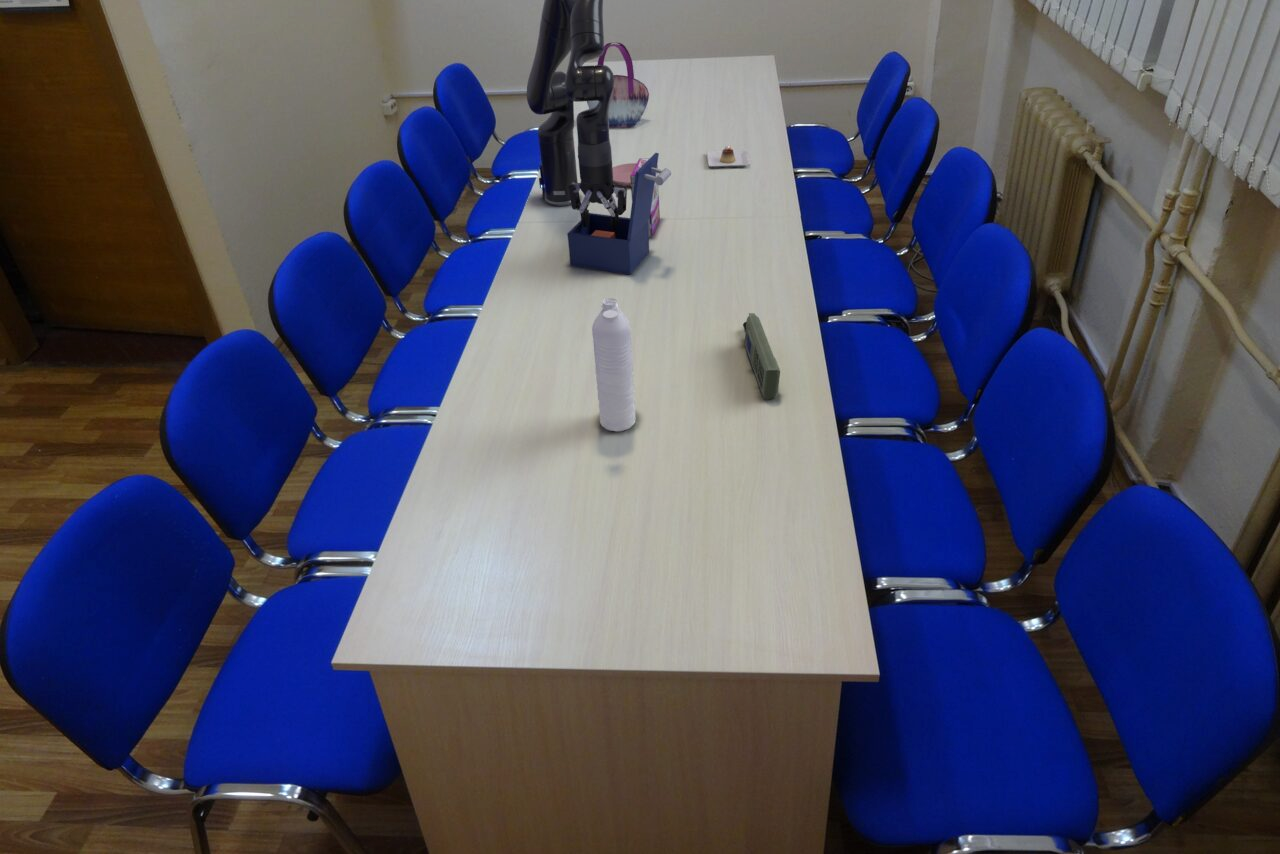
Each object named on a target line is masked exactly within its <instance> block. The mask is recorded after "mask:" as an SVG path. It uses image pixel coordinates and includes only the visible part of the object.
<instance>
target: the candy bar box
mask: <svg viewBox="0 0 1280 854" xmlns="http://www.w3.org/2000/svg"><path fill="white" fill-rule="evenodd" d="M650 158H651V157H649V158H647V157H646V158H645V157H640V158H638V160H637V162H636V163H637V164H636V166H635V168H634V170H633V172H632V174H631V175H630V178H631V186H630V192H631V200H632V199H633V191H634V183H635V175H636V172H637V171H638V170H639V169H640V168H641V167H642V166H643V165H644V164H645V163H646V162H647V161H648V160H649V159H650ZM658 167H659V166H657V169H659V168H658ZM658 175H659V173H656V177H657V176H658ZM659 190H660V189H659V185H657V184H656V183H655V184H654V191H653V198H652V205H651V212H650V219H649V220H648V234H649V239H651V238H653V237H654V234H655V232H656V229H657V227H658V225H659V222H660V220H661V216H660V215H661V214H660V191H659Z"/></svg>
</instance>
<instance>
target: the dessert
mask: <svg viewBox="0 0 1280 854" xmlns="http://www.w3.org/2000/svg"><path fill="white" fill-rule="evenodd" d="M706 157H707V158H706V159H707V164H708V165H707V166H708V167H711V168H735V167H737V168H738V167H739V168H740V167H747V166H749V165H751V163H750V159H749V158H750V157H749V154H748V151H747V149H732V148H731V147H730V146H729V145H728V144H727V145H725V147H724V149H722V150H706Z"/></svg>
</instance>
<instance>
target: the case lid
mask: <svg viewBox="0 0 1280 854" xmlns="http://www.w3.org/2000/svg"><path fill="white" fill-rule="evenodd" d="M659 154H660V153H659V152H655V153H654V154H653V155H651V156H650V157H649V158H650V159H649V160H648V161H647V162H646V163H645V164H644V165H643V166H642V167H641V168H640V169H639V170H638V171H637V172H636V175H635V183H634V191H633V199H632V198H631V208H630V215H629V216H630V217H629V218H630V223H629V231H628V240H631V239H632V238H633V237H634V236H635V235H636V234H637V233H638V231H639V230H640V229H641V228H642V227H643V226H644V225H645V223H646V222H647V221H648V220H649V219H650V212H651V205H652V198H653V191H654V184H655V183H656V184H657V185H658V186H662V185H663V184H665V183H666V181H667V180H668V179H669V177H671V175H672V171H671V169H670V168H667V167H666V168H664V169H660V168H658V169H657V167H658V163H659ZM656 173H658V176H657V177H656Z"/></svg>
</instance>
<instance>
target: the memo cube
mask: <svg viewBox="0 0 1280 854" xmlns="http://www.w3.org/2000/svg"><path fill="white" fill-rule="evenodd" d="M592 235H593V236H600V237H607V238H614V239H615V233H614V232H607V231H599V230H595V231H594V232H593V233H592Z"/></svg>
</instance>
